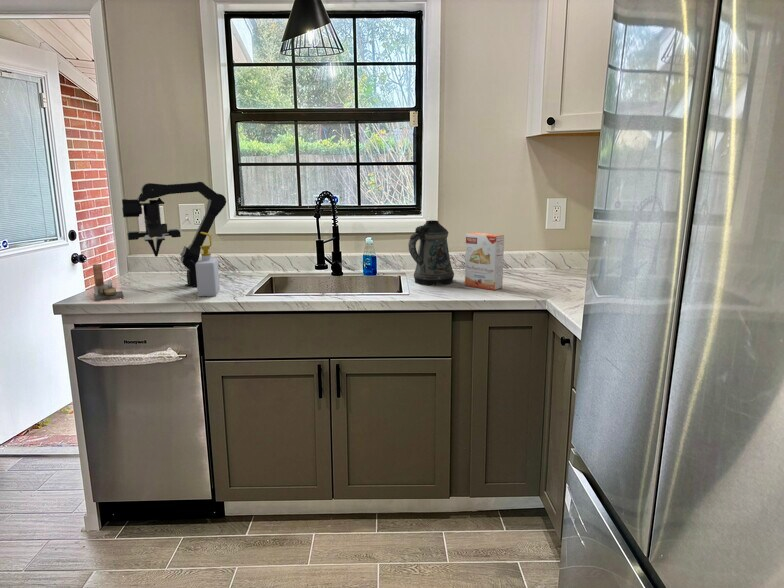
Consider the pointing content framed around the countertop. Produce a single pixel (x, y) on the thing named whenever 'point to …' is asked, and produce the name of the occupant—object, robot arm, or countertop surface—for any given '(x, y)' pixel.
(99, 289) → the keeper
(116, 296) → the base plate
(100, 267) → the link
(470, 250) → the cracker box
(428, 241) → the beer stein
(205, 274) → the soap bottle
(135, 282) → the countertop surface
